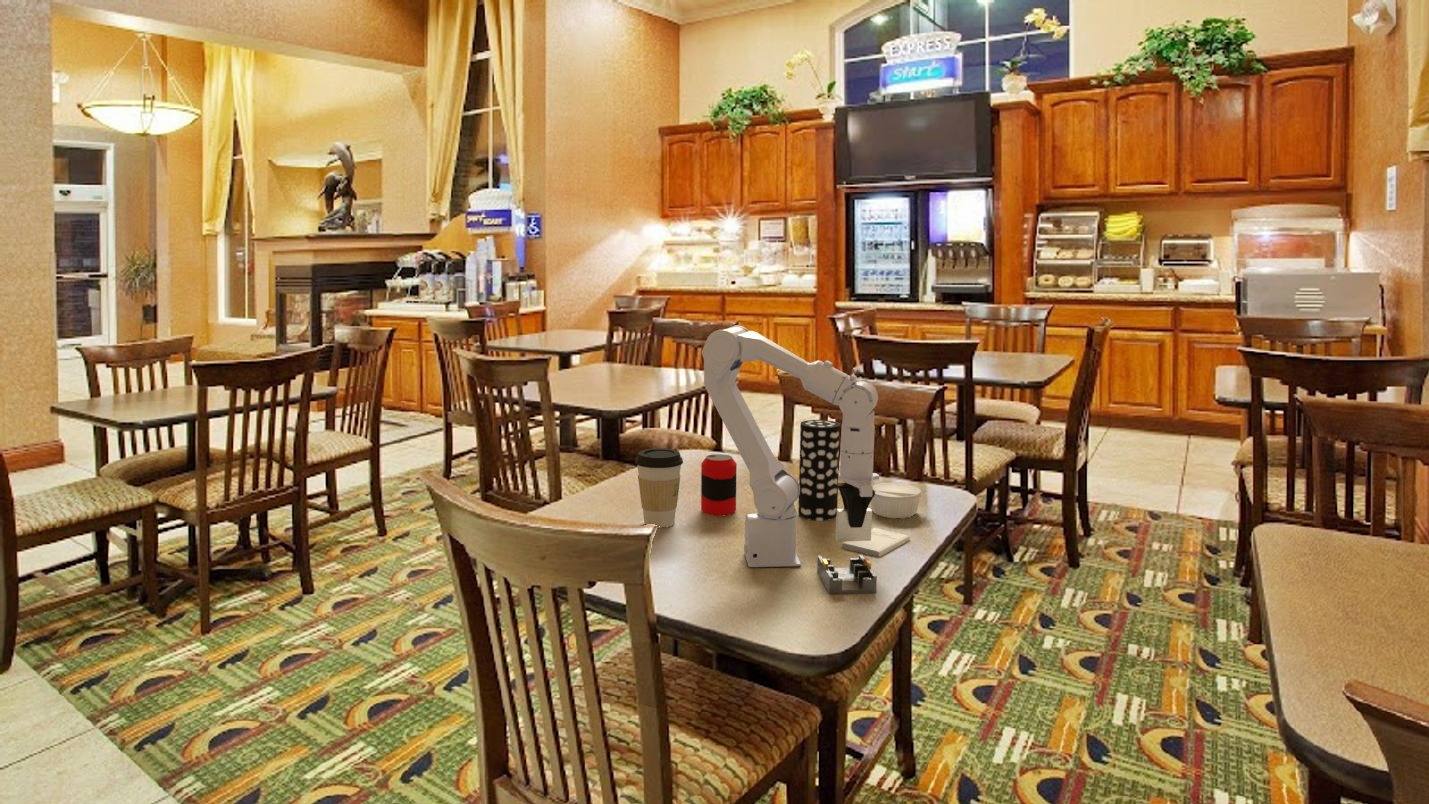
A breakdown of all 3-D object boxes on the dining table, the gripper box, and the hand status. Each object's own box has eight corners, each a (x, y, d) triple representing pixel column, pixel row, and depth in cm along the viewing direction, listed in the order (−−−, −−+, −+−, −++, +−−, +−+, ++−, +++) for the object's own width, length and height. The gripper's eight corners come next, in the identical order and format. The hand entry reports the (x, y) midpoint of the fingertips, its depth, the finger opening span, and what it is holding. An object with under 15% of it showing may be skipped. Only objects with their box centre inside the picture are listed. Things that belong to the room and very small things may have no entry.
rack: (829, 594, 152) (829, 572, 152) (817, 571, 163) (817, 551, 162) (876, 592, 153) (877, 571, 152) (861, 570, 163) (862, 550, 163)
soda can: (714, 504, 203) (714, 451, 201) (742, 510, 199) (743, 456, 197) (694, 512, 197) (694, 458, 195) (723, 518, 193) (723, 463, 191)
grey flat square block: (837, 541, 161) (838, 511, 160) (835, 538, 163) (836, 508, 162) (870, 540, 162) (872, 510, 161) (868, 537, 164) (869, 508, 163)
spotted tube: (839, 521, 192) (842, 428, 188) (799, 520, 192) (802, 427, 188) (834, 509, 200) (837, 420, 196) (796, 509, 200) (798, 419, 196)
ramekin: (879, 522, 192) (880, 497, 191) (860, 506, 202) (861, 483, 201) (929, 519, 194) (930, 495, 193) (907, 504, 205) (908, 481, 204)
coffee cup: (692, 521, 191) (692, 451, 188) (664, 534, 182) (664, 461, 180) (654, 513, 196) (654, 445, 193) (625, 525, 188) (625, 454, 185)
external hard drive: (841, 550, 176) (872, 534, 185) (879, 559, 171) (909, 542, 180) (841, 542, 175) (873, 526, 185) (879, 551, 170) (910, 535, 180)
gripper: (891, 460, 153) (888, 537, 155) (868, 441, 167) (865, 512, 170) (850, 460, 152) (847, 538, 155) (830, 441, 166) (828, 513, 169)
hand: (854, 525), depth 162 cm, fingers closed on grey flat square block, 2 cm apart
